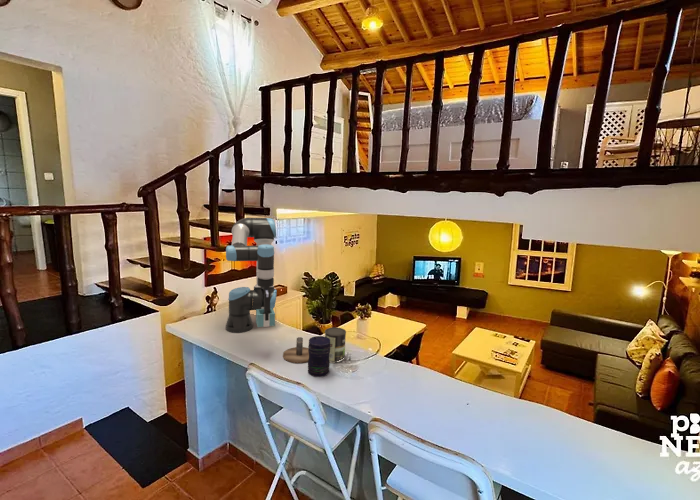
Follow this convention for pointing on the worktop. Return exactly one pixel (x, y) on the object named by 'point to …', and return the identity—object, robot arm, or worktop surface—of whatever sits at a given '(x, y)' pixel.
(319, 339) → the storage jar
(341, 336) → the coffee can
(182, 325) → the worktop surface
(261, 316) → the collar
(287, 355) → the post stand
